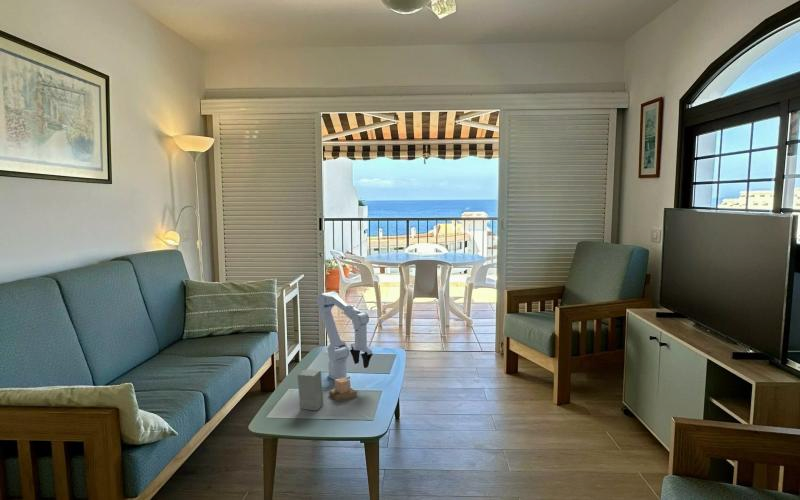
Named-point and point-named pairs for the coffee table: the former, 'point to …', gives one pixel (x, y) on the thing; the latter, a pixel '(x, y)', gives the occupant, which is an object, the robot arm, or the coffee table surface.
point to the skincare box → (310, 389)
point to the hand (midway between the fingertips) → (361, 365)
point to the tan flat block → (342, 396)
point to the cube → (342, 385)
